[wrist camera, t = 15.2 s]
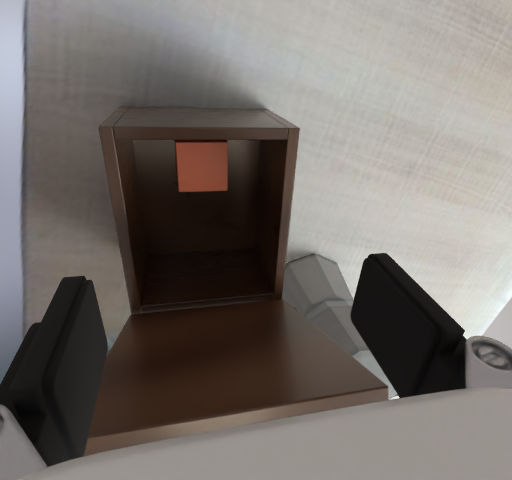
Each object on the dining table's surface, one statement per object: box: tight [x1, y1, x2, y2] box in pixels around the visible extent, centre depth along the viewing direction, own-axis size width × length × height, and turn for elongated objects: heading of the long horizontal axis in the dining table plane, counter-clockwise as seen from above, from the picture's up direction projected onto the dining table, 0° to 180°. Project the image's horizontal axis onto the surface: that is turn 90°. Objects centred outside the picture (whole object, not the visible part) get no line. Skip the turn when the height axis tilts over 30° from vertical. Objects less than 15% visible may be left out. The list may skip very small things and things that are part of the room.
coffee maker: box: [282, 254, 398, 399], centre depth 32 cm, size 15×9×18 cm, turn 60°
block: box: [175, 140, 228, 192], centre depth 28 cm, size 4×4×4 cm
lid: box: [83, 299, 389, 457], centre depth 20 cm, size 15×13×5 cm
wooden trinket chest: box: [99, 107, 300, 314], centre depth 28 cm, size 15×13×9 cm
